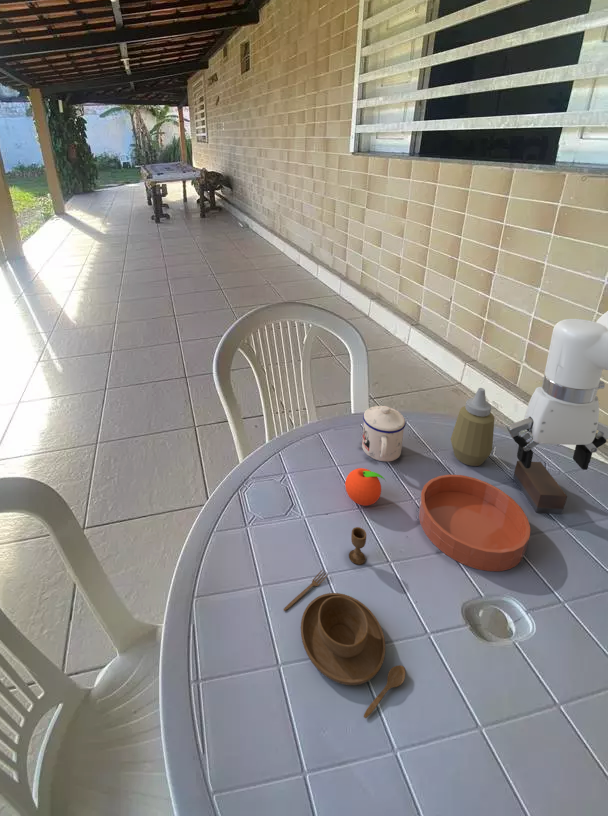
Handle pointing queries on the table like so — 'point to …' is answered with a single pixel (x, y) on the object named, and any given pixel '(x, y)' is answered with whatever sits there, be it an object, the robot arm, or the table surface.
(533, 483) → the eraser
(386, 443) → the teacup with lid
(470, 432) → the squeeze bottle
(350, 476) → the clementine
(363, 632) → the place setting
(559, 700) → the table surface
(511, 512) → the bowl
